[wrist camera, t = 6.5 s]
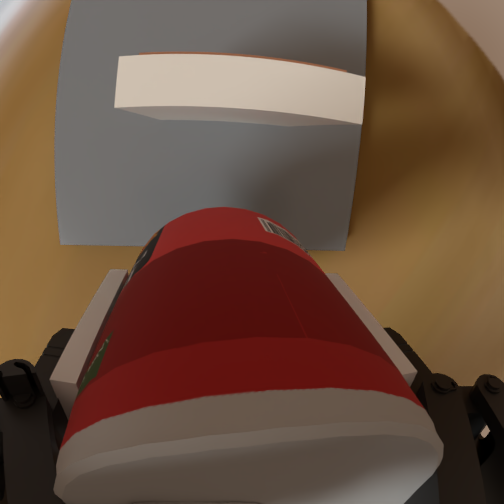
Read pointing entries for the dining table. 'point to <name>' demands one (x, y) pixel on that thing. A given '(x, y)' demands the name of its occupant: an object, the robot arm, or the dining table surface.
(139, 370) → the canned food
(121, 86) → the tile
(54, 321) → the dining table surface
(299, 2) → the slate board
